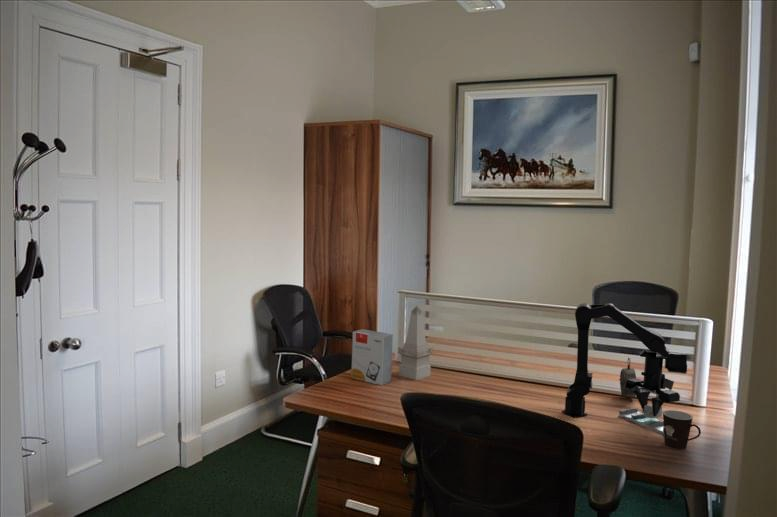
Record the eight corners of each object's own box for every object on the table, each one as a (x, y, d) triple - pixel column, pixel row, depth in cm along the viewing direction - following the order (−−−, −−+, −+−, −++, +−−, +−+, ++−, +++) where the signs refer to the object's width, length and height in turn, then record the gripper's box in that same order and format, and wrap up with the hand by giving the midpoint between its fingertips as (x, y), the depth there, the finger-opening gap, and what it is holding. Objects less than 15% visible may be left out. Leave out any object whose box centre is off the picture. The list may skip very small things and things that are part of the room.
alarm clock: (636, 403, 245) (639, 361, 244) (621, 402, 246) (623, 360, 245) (631, 394, 256) (634, 354, 254) (617, 393, 257) (619, 353, 255)
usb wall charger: (661, 417, 223) (662, 405, 223) (649, 420, 220) (649, 408, 219) (651, 414, 227) (652, 402, 226) (638, 417, 223) (639, 405, 223)
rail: (665, 435, 213) (665, 429, 212) (618, 416, 230) (619, 410, 230) (682, 432, 216) (682, 425, 216) (635, 413, 234) (635, 407, 234)
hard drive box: (350, 379, 267) (351, 331, 265) (360, 374, 274) (361, 328, 272) (382, 385, 259) (383, 336, 257) (392, 381, 266) (393, 333, 263)
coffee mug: (655, 440, 208) (657, 410, 207) (681, 440, 209) (683, 410, 208) (674, 454, 197) (676, 423, 196) (701, 454, 198) (704, 423, 197)
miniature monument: (431, 375, 275) (434, 306, 272) (416, 380, 268) (418, 309, 265) (412, 370, 282) (415, 302, 279) (397, 375, 274) (399, 305, 271)
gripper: (692, 375, 217) (689, 420, 218) (648, 361, 233) (644, 403, 235) (669, 378, 212) (666, 424, 213) (625, 364, 228) (622, 406, 230)
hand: (649, 414), depth 223 cm, fingers closed on usb wall charger, 4 cm apart
